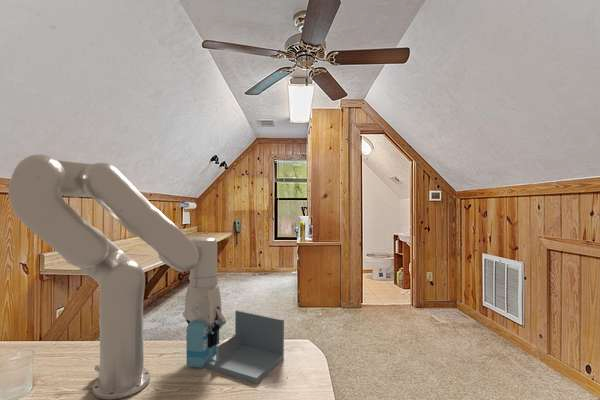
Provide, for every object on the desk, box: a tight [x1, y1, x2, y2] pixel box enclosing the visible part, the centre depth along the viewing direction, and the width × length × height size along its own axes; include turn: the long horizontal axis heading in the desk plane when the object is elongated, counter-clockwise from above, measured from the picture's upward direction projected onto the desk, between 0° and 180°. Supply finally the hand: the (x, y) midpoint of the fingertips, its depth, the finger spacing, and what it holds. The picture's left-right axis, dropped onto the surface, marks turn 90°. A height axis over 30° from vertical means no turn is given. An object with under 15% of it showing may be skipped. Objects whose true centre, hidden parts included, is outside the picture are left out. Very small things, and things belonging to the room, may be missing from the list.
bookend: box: [210, 332, 241, 362], centre depth 97 cm, size 3×10×4 cm, turn 154°
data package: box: [185, 320, 220, 369], centre depth 96 cm, size 12×4×12 cm, turn 171°
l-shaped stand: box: [205, 309, 285, 385], centre depth 94 cm, size 16×14×12 cm
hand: (203, 342), depth 97 cm, fingers closed on data package, 5 cm apart
